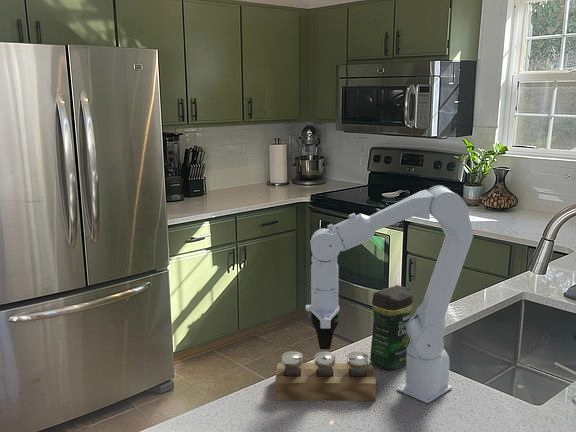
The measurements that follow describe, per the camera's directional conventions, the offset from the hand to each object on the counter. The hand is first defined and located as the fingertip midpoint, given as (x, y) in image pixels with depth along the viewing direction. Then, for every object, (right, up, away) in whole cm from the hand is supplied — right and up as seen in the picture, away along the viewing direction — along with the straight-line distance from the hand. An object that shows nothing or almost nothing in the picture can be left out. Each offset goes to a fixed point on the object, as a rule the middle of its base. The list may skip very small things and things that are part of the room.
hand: (324, 347), depth 120 cm
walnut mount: (0, -10, +2) cm, 10 cm away
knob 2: (+7, -7, +1) cm, 10 cm away
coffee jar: (+17, -7, +14) cm, 23 cm away
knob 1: (-7, -7, +2) cm, 10 cm away
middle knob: (0, -7, +2) cm, 8 cm away
